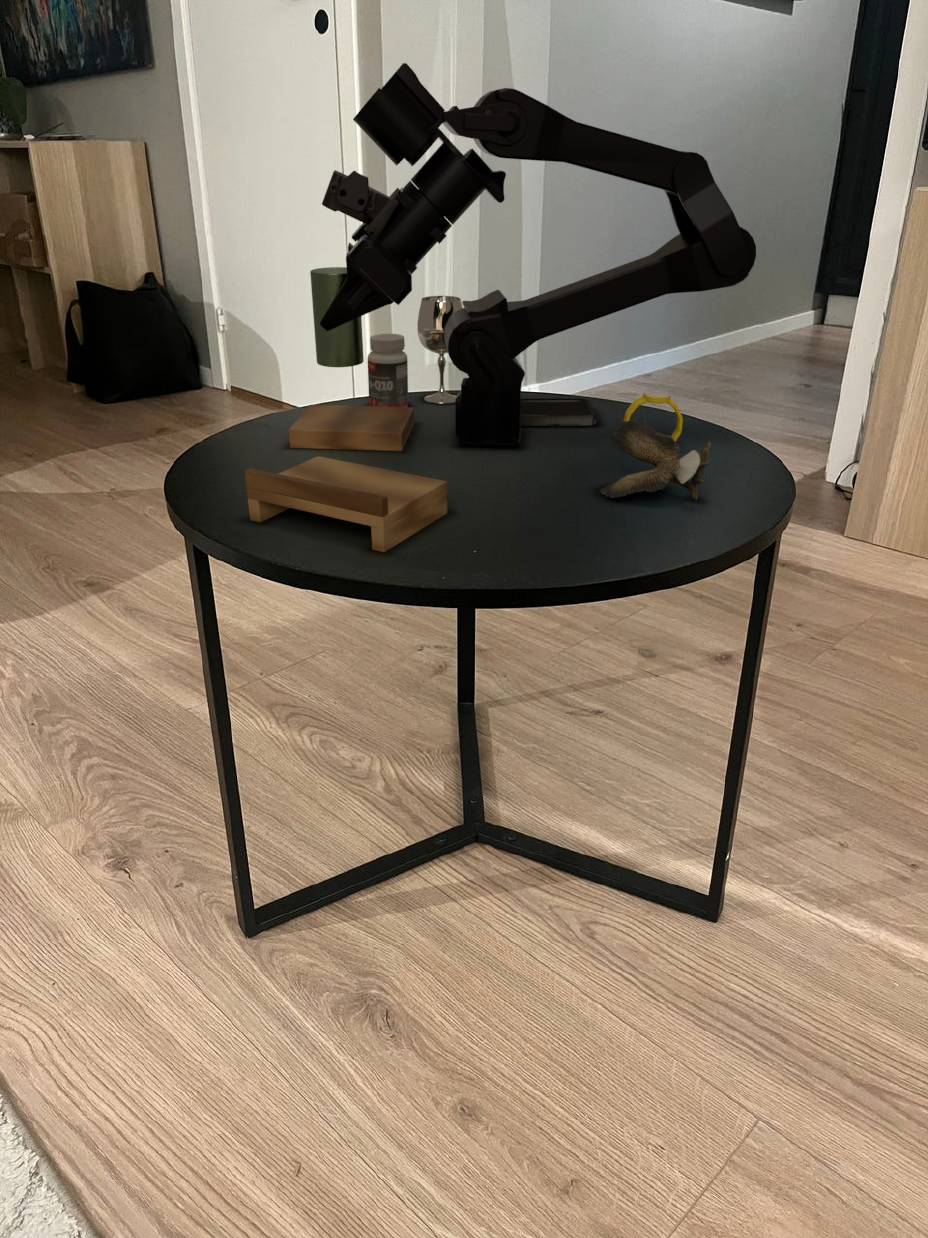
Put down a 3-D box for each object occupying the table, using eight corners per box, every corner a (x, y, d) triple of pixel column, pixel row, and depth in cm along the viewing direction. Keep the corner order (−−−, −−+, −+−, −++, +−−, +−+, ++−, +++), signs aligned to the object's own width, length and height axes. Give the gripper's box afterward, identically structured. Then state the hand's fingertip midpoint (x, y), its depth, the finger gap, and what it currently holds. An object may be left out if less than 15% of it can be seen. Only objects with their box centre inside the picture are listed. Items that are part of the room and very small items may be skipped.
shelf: (320, 486, 90) (317, 440, 88) (447, 513, 84) (447, 464, 82) (249, 520, 82) (244, 470, 80) (384, 552, 76) (382, 499, 74)
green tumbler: (371, 363, 98) (366, 271, 93) (327, 369, 95) (321, 274, 91) (352, 355, 101) (347, 265, 97) (309, 360, 99) (302, 269, 95)
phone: (464, 398, 114) (588, 398, 114) (464, 408, 115) (588, 407, 115) (465, 416, 107) (598, 415, 107) (465, 426, 108) (598, 425, 108)
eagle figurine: (700, 469, 91) (609, 446, 92) (721, 420, 85) (623, 396, 86) (687, 532, 88) (592, 508, 89) (708, 487, 81) (605, 461, 82)
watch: (623, 453, 99) (628, 396, 97) (619, 445, 102) (624, 389, 99) (680, 453, 99) (687, 396, 97) (675, 445, 102) (682, 390, 99)
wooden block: (414, 424, 109) (414, 407, 108) (402, 451, 100) (401, 432, 99) (310, 421, 109) (309, 404, 109) (289, 447, 101) (288, 429, 100)
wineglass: (459, 406, 116) (459, 303, 110) (413, 403, 117) (411, 301, 111) (469, 394, 121) (469, 295, 115) (425, 392, 122) (423, 294, 116)
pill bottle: (361, 409, 114) (358, 337, 110) (383, 400, 118) (381, 331, 114) (394, 414, 112) (392, 342, 108) (415, 405, 116) (414, 335, 112)
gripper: (369, 136, 97) (270, 252, 102) (369, 138, 81) (251, 277, 85) (447, 218, 102) (349, 326, 106) (461, 237, 85) (344, 364, 89)
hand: (324, 322), depth 96 cm, fingers closed on green tumbler, 5 cm apart
